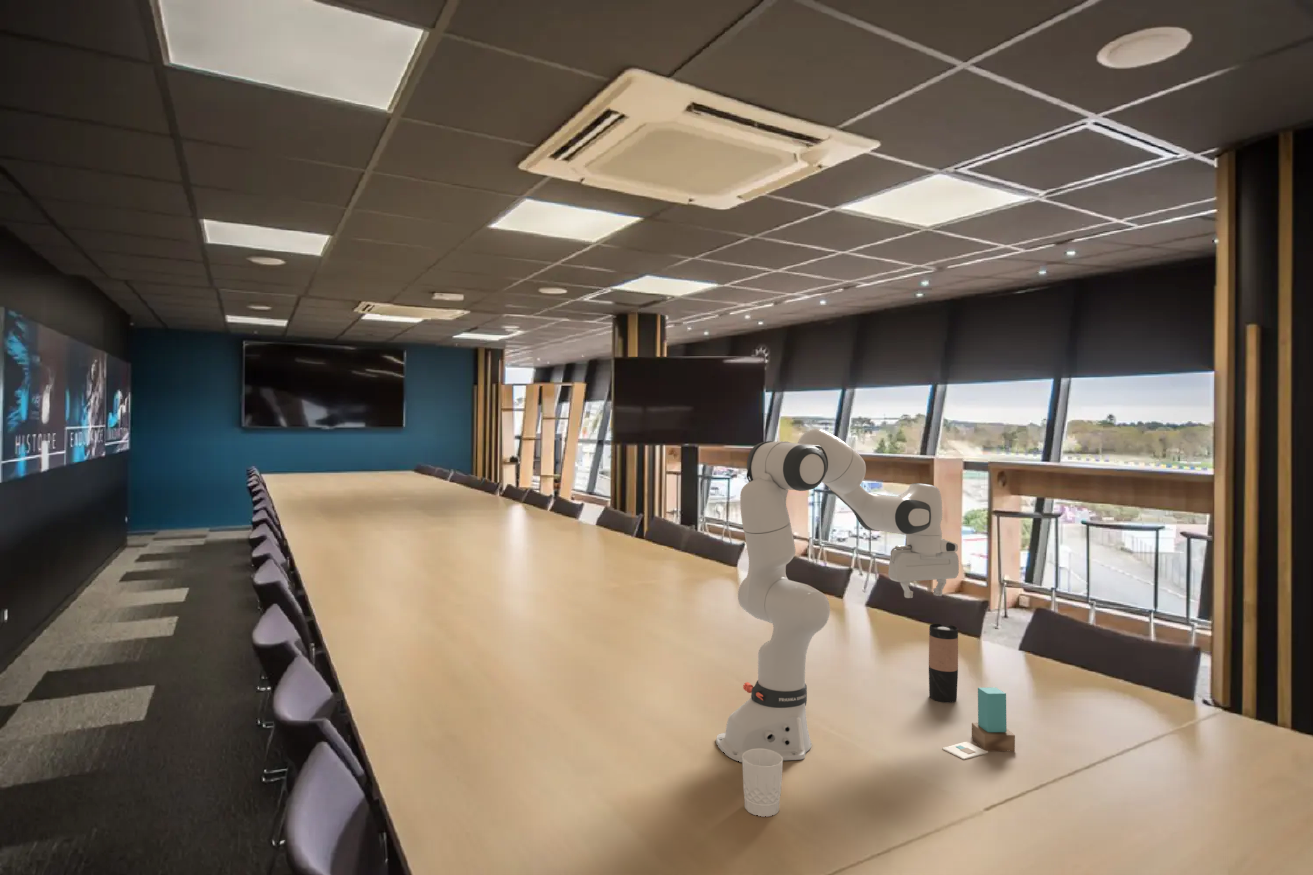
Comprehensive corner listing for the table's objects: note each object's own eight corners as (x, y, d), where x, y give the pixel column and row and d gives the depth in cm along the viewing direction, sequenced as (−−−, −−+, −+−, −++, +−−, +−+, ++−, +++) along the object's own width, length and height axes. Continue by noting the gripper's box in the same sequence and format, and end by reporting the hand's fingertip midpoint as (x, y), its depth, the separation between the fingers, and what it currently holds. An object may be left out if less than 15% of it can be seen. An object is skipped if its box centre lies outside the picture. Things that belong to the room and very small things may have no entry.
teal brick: (987, 732, 165) (987, 693, 166) (978, 725, 170) (977, 687, 170) (1006, 732, 165) (1006, 693, 166) (996, 724, 170) (995, 687, 170)
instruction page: (963, 759, 159) (963, 757, 159) (942, 749, 165) (942, 747, 165) (987, 752, 163) (987, 751, 163) (965, 742, 168) (965, 740, 168)
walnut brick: (984, 751, 164) (984, 734, 164) (971, 738, 171) (971, 722, 171) (1014, 752, 164) (1014, 735, 164) (1000, 739, 171) (1000, 722, 171)
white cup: (777, 797, 142) (778, 748, 142) (786, 818, 134) (786, 766, 134) (738, 797, 142) (739, 748, 142) (745, 819, 134) (745, 766, 134)
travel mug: (940, 704, 193) (940, 631, 193) (922, 694, 200) (923, 624, 200) (963, 701, 195) (964, 629, 195) (945, 691, 202) (946, 622, 202)
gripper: (898, 547, 180) (898, 601, 180) (963, 544, 187) (962, 596, 187) (883, 544, 186) (882, 596, 186) (946, 541, 193) (945, 591, 193)
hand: (923, 596), depth 187 cm, fingers open, 8 cm apart
